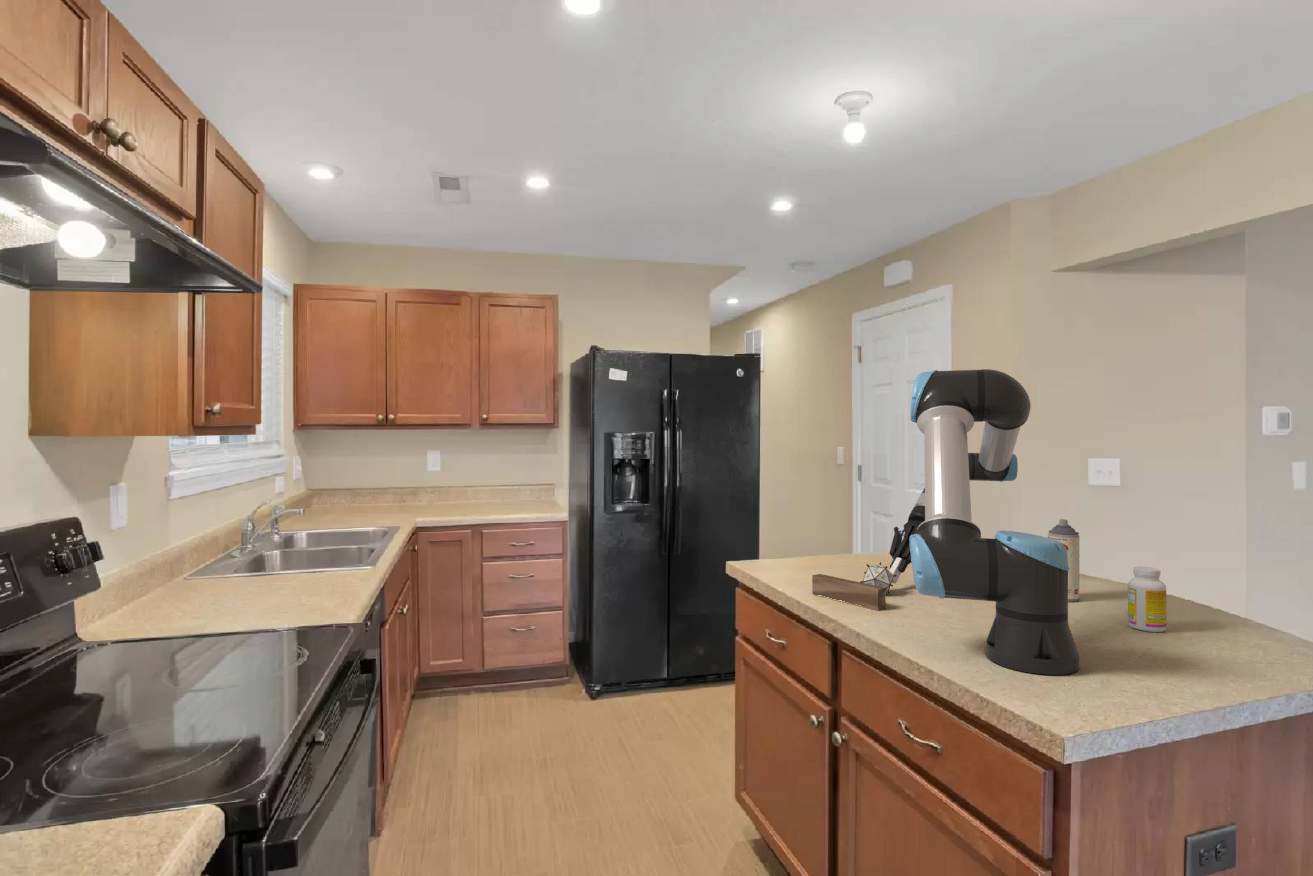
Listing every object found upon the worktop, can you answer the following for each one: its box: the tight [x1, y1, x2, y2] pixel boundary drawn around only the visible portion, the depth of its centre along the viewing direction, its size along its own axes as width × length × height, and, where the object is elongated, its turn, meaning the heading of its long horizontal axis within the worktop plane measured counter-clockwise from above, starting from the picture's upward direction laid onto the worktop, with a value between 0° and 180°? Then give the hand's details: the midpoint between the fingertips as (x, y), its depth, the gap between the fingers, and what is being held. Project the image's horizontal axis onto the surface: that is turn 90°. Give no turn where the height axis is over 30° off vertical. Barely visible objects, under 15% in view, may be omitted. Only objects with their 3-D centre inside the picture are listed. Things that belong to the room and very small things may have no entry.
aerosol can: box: [1047, 518, 1080, 603], centre depth 168 cm, size 7×7×20 cm
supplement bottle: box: [1127, 566, 1168, 633], centre depth 143 cm, size 7×7×13 cm
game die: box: [859, 561, 897, 594], centre depth 174 cm, size 9×8×10 cm
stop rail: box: [811, 573, 887, 611], centre depth 167 cm, size 3×20×5 cm, turn 36°
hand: (891, 580), depth 178 cm, fingers closed
